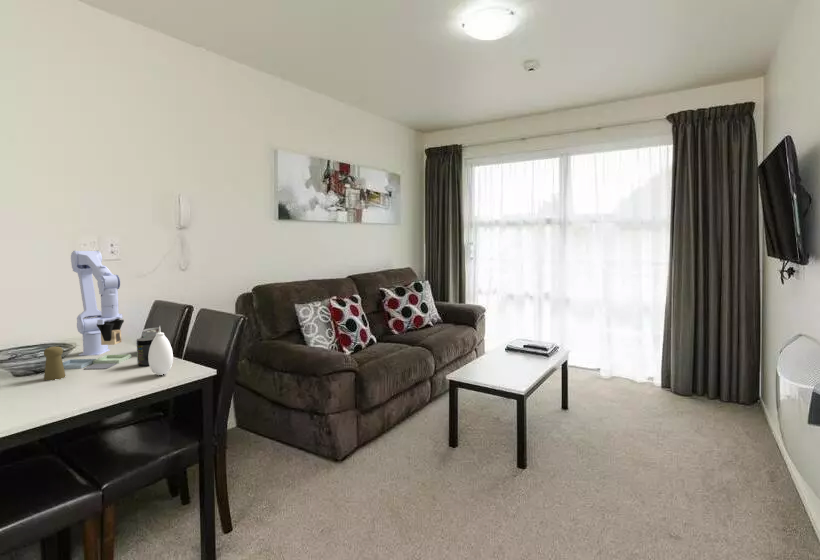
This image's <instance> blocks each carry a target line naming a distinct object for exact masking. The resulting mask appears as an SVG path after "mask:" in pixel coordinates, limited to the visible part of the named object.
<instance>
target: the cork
mask: <svg viewBox="0 0 820 560" xmlns="http://www.w3.org/2000/svg"><path fill="white" fill-rule="evenodd" d="M63 353H64V350H63V348H62V347H61V346H49V347H46V348H45V349H44V351H43V355H44V356H45V365H44V374H43V381H46V380H52V381H56V380H55V379H59V380H61V378H63V379H64V377H65V376H66V372H65V369H64V367H63V362H64V361H63V358H62V355H63ZM65 378H66V377H65Z"/></svg>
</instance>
